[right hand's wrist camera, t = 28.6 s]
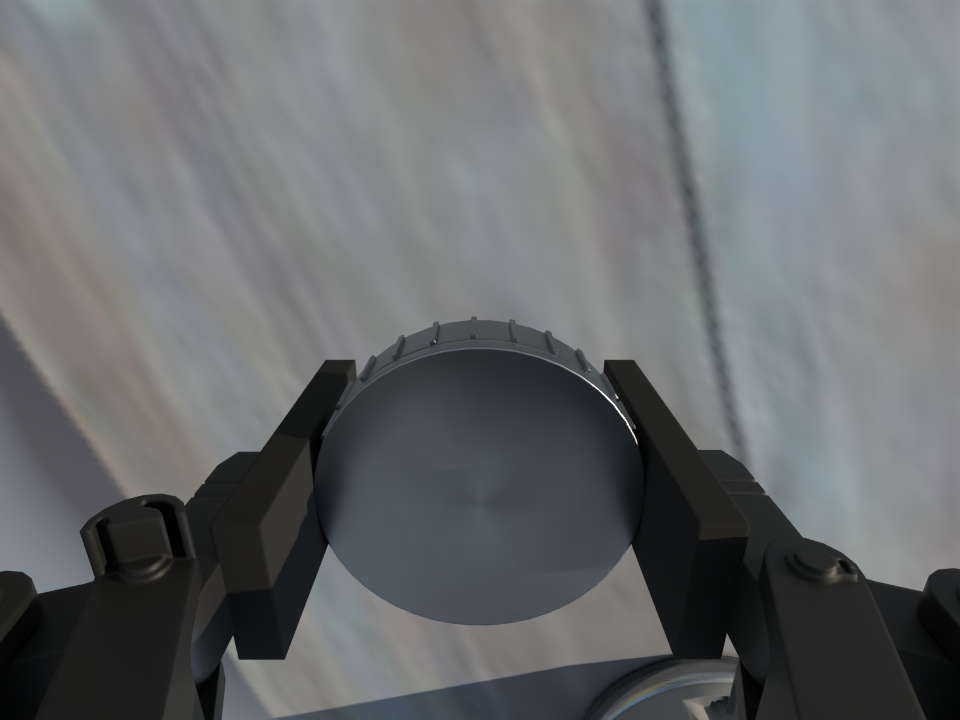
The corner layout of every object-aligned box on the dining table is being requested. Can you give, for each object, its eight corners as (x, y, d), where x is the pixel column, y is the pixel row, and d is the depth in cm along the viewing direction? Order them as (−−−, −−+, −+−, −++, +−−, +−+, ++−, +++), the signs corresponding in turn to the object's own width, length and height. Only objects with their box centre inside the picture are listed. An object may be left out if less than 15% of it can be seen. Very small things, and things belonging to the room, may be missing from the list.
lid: (397, 602, 14) (386, 658, 12) (278, 372, 11) (247, 406, 10) (656, 533, 13) (679, 585, 11) (586, 271, 11) (603, 292, 9)
